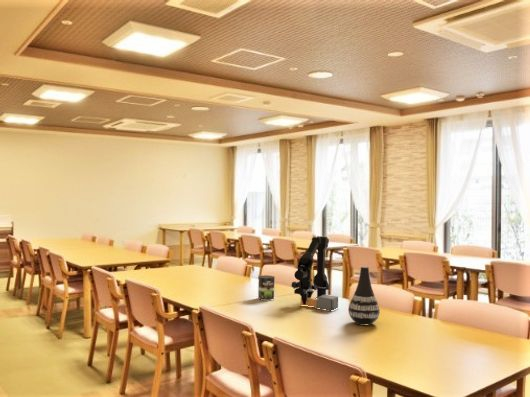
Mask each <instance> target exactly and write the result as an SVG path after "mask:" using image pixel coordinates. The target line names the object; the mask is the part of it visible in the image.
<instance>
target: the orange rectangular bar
mask: <svg viewBox="0 0 530 397" xmlns="http://www.w3.org/2000/svg"><path fill="white" fill-rule="evenodd" d="M301 305H308V306H314V307H316V298H315V297H311V298H309V297H307V300H306V304H303V301H302V298H301V297H300V306H301Z"/></svg>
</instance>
